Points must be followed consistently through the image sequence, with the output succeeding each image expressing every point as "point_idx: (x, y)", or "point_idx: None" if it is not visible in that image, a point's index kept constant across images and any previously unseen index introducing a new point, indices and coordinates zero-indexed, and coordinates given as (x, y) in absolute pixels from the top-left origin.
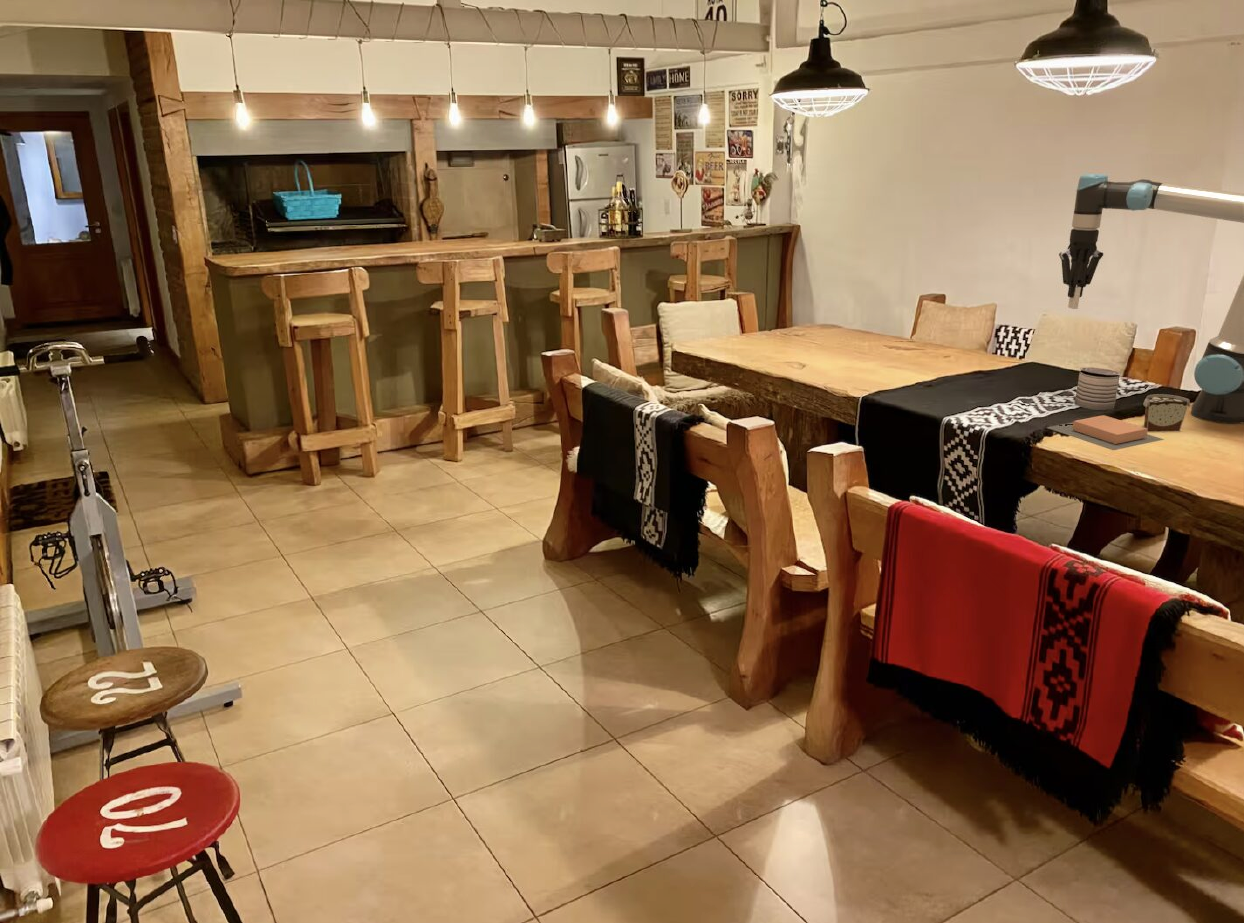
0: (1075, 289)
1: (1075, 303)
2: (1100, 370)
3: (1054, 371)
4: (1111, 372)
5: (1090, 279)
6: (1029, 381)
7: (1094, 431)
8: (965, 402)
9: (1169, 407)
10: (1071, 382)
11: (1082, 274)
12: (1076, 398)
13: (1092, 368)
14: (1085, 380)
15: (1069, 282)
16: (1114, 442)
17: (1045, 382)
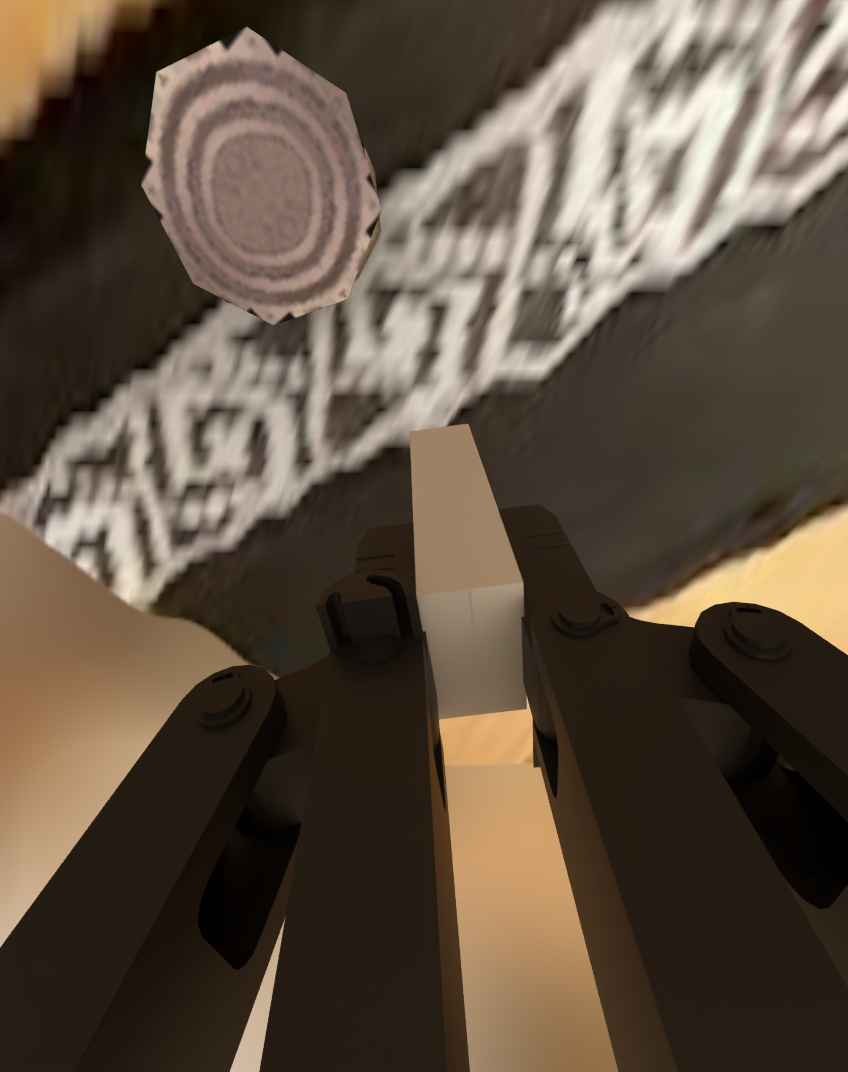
0: (516, 567)
1: (452, 452)
2: (253, 226)
3: (301, 656)
4: (199, 168)
5: (160, 781)
6: None
7: None
8: (787, 294)
9: None
10: (285, 553)
11: (440, 945)
12: (378, 220)
13: (284, 287)
14: (363, 147)
15: (778, 641)
16: None
17: None
